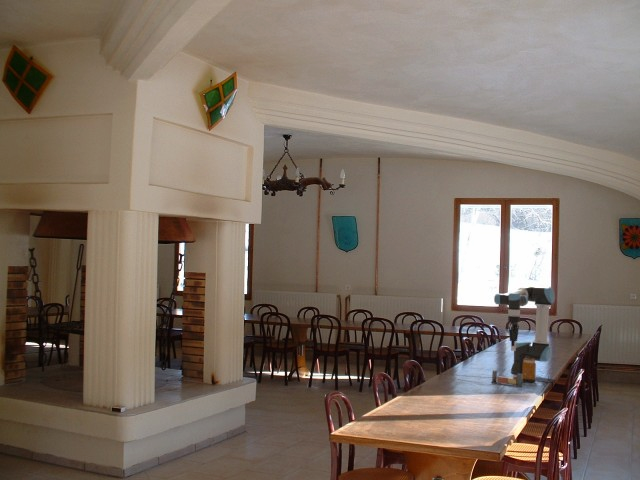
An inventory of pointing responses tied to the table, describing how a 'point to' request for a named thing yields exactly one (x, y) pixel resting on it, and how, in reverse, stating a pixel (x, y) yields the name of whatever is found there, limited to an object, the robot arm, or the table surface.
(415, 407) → the table surface
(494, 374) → the post
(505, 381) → the pink l-shaped bracket
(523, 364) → the canister
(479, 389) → the table surface
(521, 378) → the grey hammer
